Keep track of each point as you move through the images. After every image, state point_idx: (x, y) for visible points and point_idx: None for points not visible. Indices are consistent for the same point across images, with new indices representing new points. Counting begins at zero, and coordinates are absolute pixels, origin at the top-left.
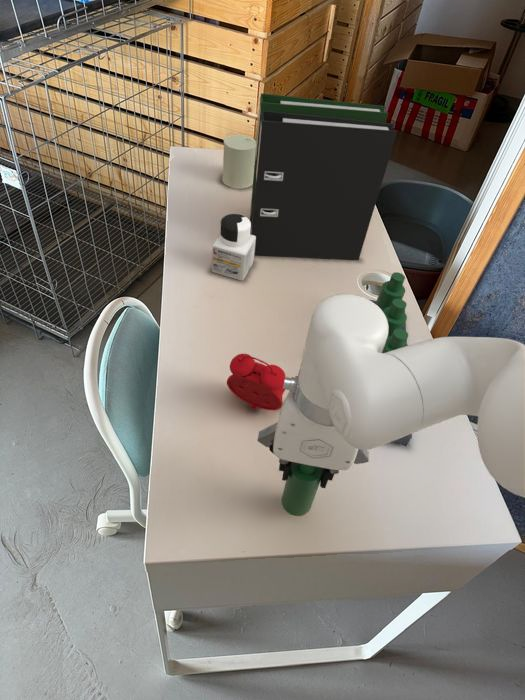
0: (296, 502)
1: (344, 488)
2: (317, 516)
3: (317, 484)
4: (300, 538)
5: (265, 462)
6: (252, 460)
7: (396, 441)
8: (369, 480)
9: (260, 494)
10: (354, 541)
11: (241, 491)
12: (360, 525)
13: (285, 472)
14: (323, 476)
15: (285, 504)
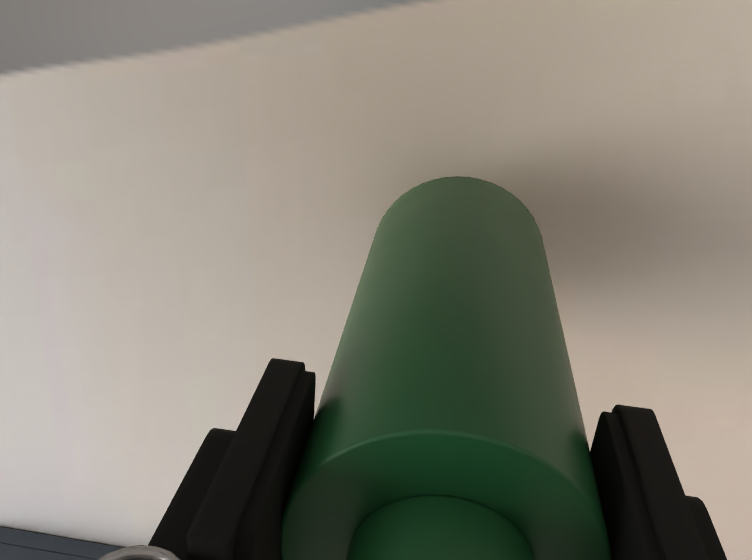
0: (482, 241)
1: (216, 337)
2: (339, 194)
3: (336, 388)
4: (426, 69)
5: None
6: (669, 445)
7: (12, 540)
8: (108, 377)
9: (638, 284)
10: (147, 83)
11: (744, 293)
12: (127, 168)
13: (677, 512)
14: (273, 490)
15: (533, 232)
